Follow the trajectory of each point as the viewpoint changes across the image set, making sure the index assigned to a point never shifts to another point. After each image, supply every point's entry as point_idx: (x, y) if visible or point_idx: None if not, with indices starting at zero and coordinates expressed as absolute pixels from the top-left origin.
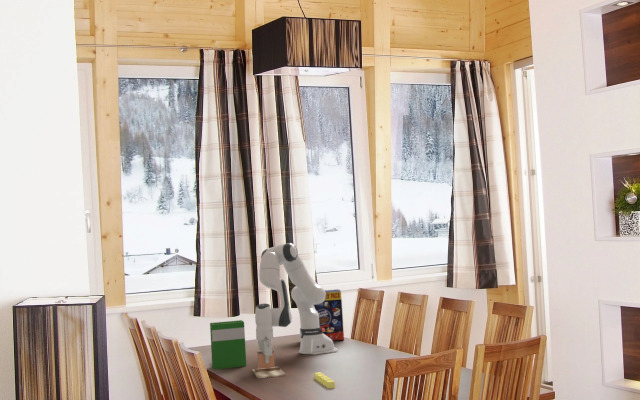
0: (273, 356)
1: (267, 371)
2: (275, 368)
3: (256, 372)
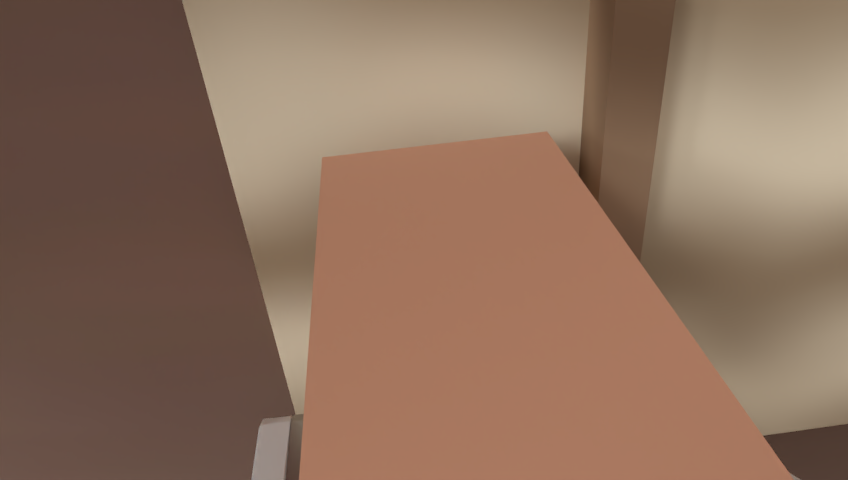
0: (692, 360)
1: (669, 269)
2: (653, 106)
3: None
